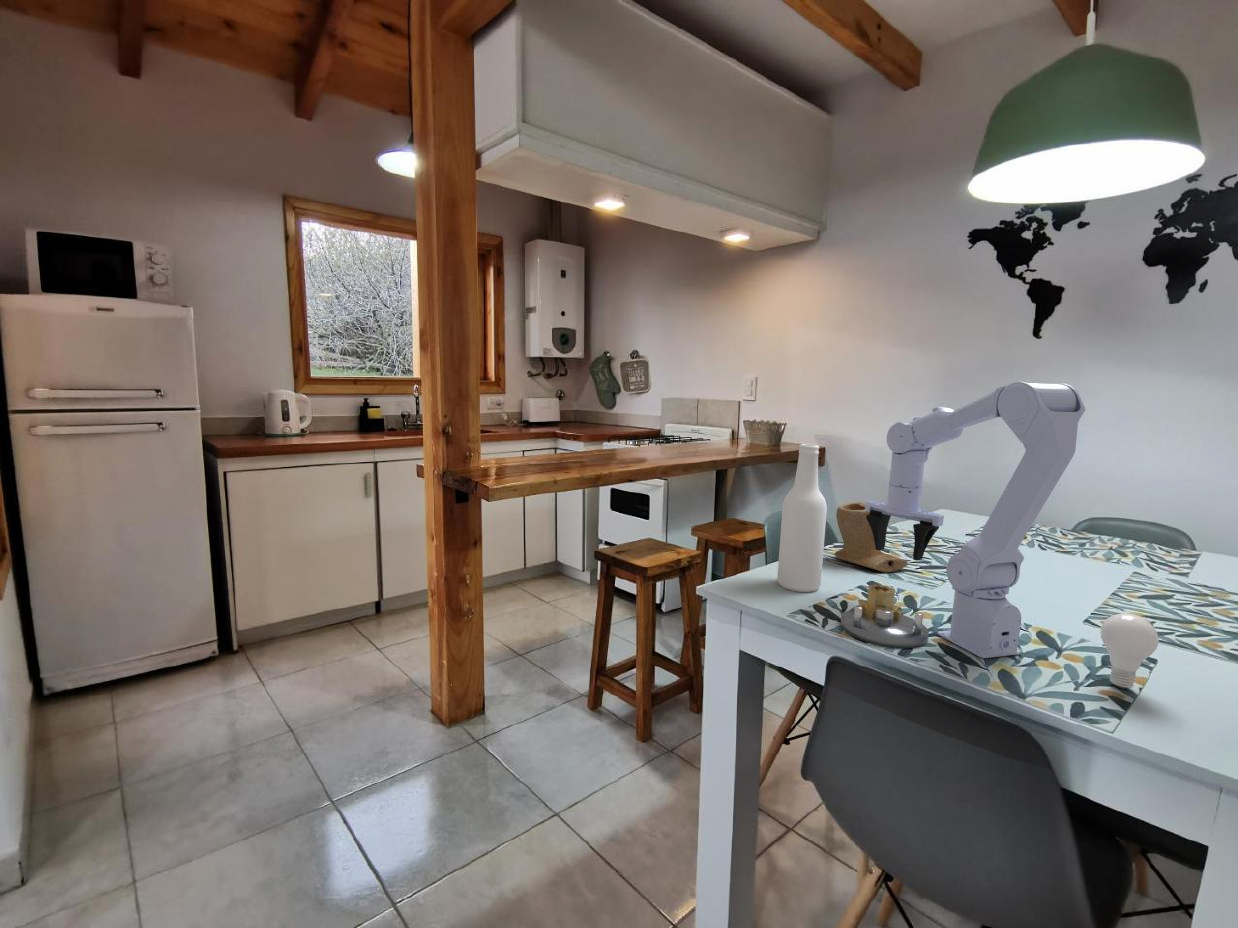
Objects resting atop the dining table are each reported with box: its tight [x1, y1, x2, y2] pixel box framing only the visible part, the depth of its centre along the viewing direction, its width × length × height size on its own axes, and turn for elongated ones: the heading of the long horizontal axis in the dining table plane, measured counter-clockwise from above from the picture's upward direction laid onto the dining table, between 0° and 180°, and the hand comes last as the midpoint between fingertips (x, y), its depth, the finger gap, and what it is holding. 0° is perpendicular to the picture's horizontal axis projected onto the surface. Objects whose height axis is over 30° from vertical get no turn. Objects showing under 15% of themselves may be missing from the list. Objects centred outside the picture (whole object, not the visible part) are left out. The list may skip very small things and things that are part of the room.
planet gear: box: [857, 583, 902, 619], centre depth 110 cm, size 7×7×4 cm
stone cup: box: [834, 501, 909, 573], centre depth 142 cm, size 15×12×15 cm
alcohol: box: [776, 443, 828, 593], centre depth 125 cm, size 9×9×30 cm
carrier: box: [840, 605, 929, 649], centre depth 105 cm, size 14×14×5 cm
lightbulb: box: [1100, 612, 1160, 690], centre depth 86 cm, size 6×6×11 cm
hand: (898, 554), depth 117 cm, fingers open, 7 cm apart
